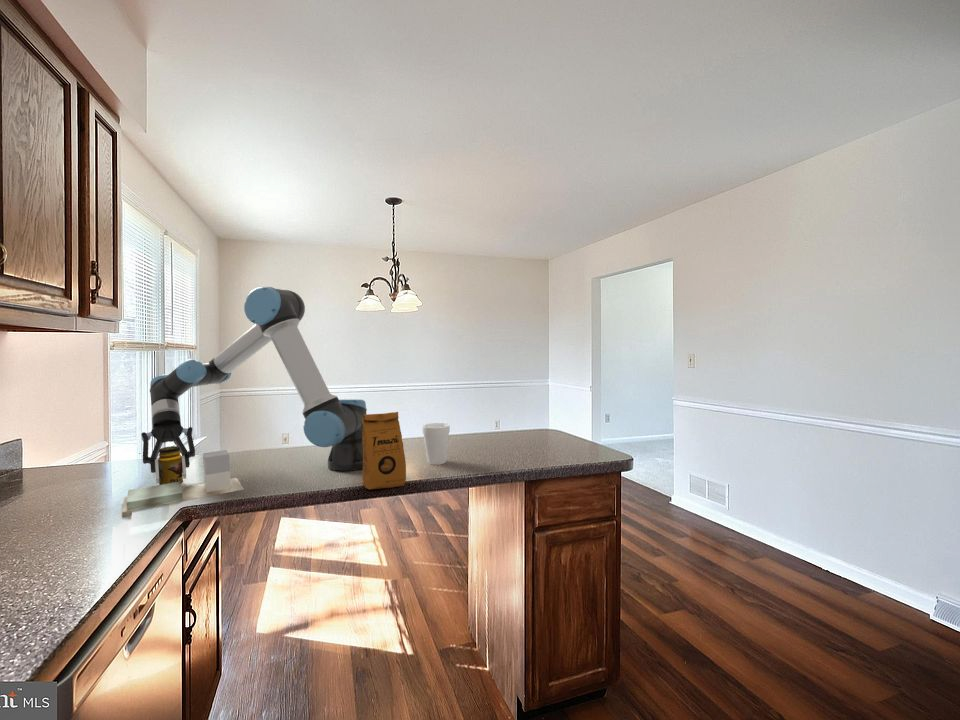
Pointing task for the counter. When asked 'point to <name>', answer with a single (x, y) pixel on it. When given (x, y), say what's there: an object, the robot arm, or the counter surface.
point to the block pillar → (216, 470)
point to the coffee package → (383, 451)
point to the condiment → (170, 465)
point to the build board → (192, 494)
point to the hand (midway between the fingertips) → (171, 478)
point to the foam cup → (436, 442)
